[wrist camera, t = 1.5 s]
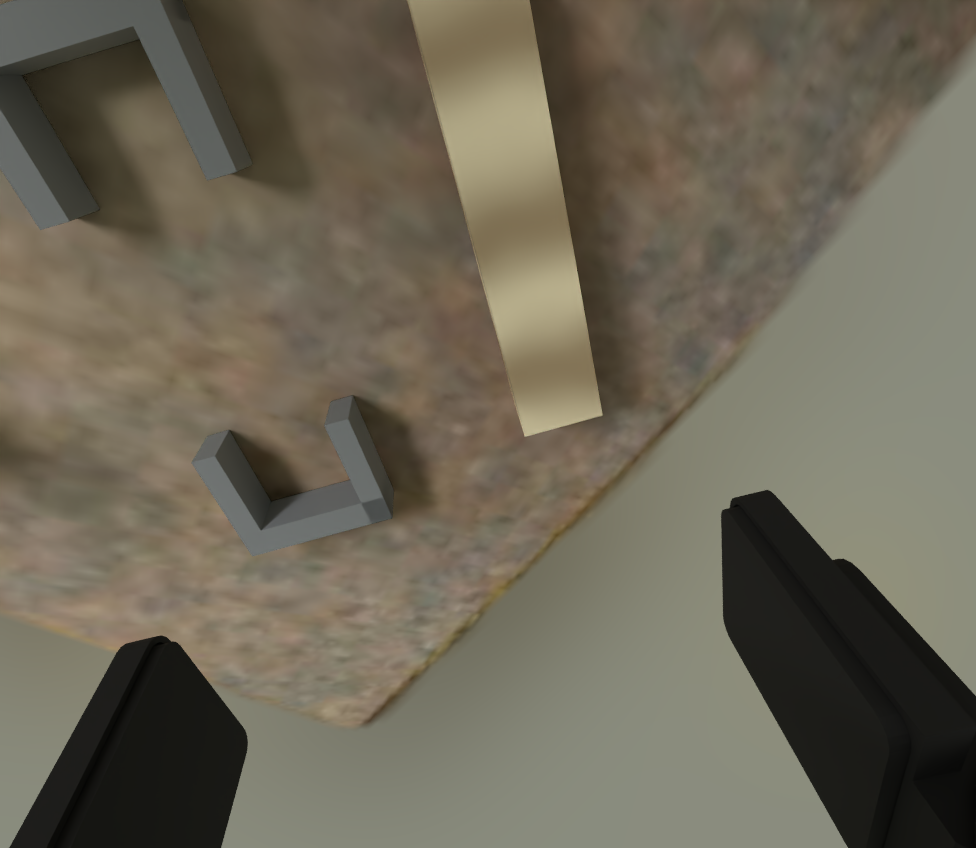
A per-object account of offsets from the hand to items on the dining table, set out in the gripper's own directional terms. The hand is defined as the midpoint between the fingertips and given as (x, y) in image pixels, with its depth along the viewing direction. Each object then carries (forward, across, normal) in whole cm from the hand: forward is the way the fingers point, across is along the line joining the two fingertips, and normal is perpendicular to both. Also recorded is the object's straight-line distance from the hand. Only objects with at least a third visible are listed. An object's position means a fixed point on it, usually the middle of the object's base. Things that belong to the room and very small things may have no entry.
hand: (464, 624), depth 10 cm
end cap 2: (+20, +10, +8) cm, 24 cm away
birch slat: (+21, -4, -2) cm, 21 cm away
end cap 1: (+20, +10, -10) cm, 25 cm away
